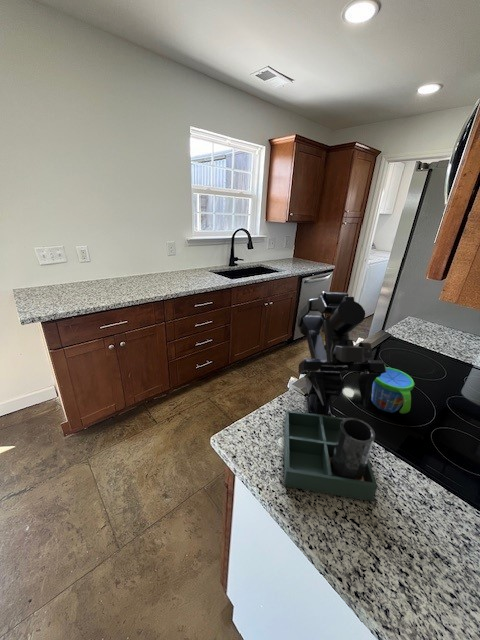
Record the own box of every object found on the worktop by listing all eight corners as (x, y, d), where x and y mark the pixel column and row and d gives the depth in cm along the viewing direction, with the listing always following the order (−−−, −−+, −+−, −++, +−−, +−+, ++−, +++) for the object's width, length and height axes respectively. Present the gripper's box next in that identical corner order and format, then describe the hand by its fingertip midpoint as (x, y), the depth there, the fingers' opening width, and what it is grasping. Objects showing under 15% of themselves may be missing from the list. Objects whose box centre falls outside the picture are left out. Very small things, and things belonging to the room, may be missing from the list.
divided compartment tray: (284, 423, 72) (286, 410, 70) (352, 432, 69) (356, 419, 68) (284, 486, 56) (286, 471, 54) (372, 501, 53) (377, 486, 52)
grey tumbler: (332, 456, 62) (343, 413, 57) (362, 468, 59) (376, 425, 54) (326, 478, 57) (337, 434, 51) (358, 493, 54) (373, 448, 49)
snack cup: (357, 387, 87) (363, 361, 83) (389, 388, 87) (397, 362, 83) (378, 423, 73) (387, 394, 69) (417, 425, 73) (428, 395, 68)
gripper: (307, 327, 57) (313, 402, 51) (393, 329, 57) (408, 405, 52) (296, 341, 67) (300, 405, 62) (369, 343, 68) (379, 407, 62)
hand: (344, 406), depth 59 cm, fingers open, 9 cm apart
